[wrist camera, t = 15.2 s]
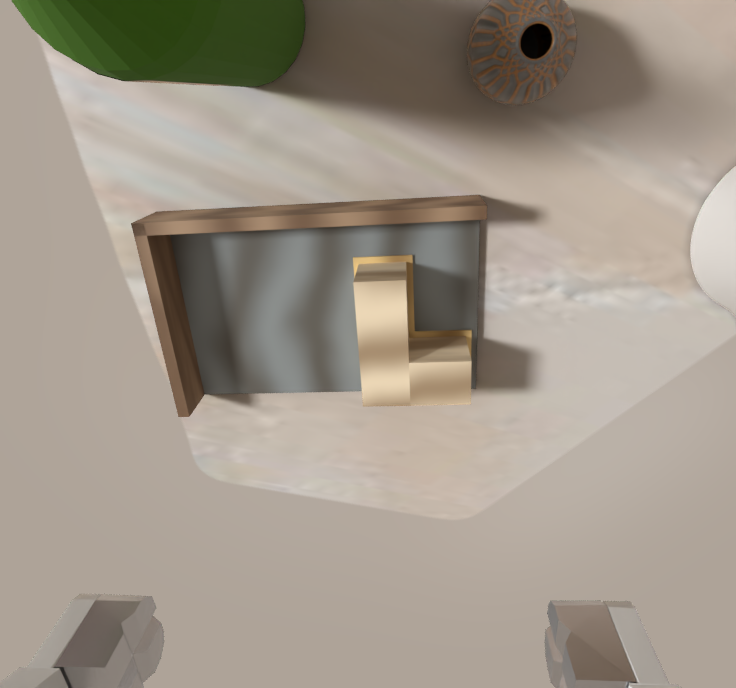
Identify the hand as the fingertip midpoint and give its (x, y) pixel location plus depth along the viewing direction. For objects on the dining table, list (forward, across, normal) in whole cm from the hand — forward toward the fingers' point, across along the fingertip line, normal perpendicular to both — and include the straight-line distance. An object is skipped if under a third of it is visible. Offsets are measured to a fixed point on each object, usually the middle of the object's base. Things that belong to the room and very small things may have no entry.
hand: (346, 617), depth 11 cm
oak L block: (+36, -2, +8) cm, 37 cm away
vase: (+37, -9, -12) cm, 40 cm away
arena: (+37, +6, +7) cm, 38 cm away
